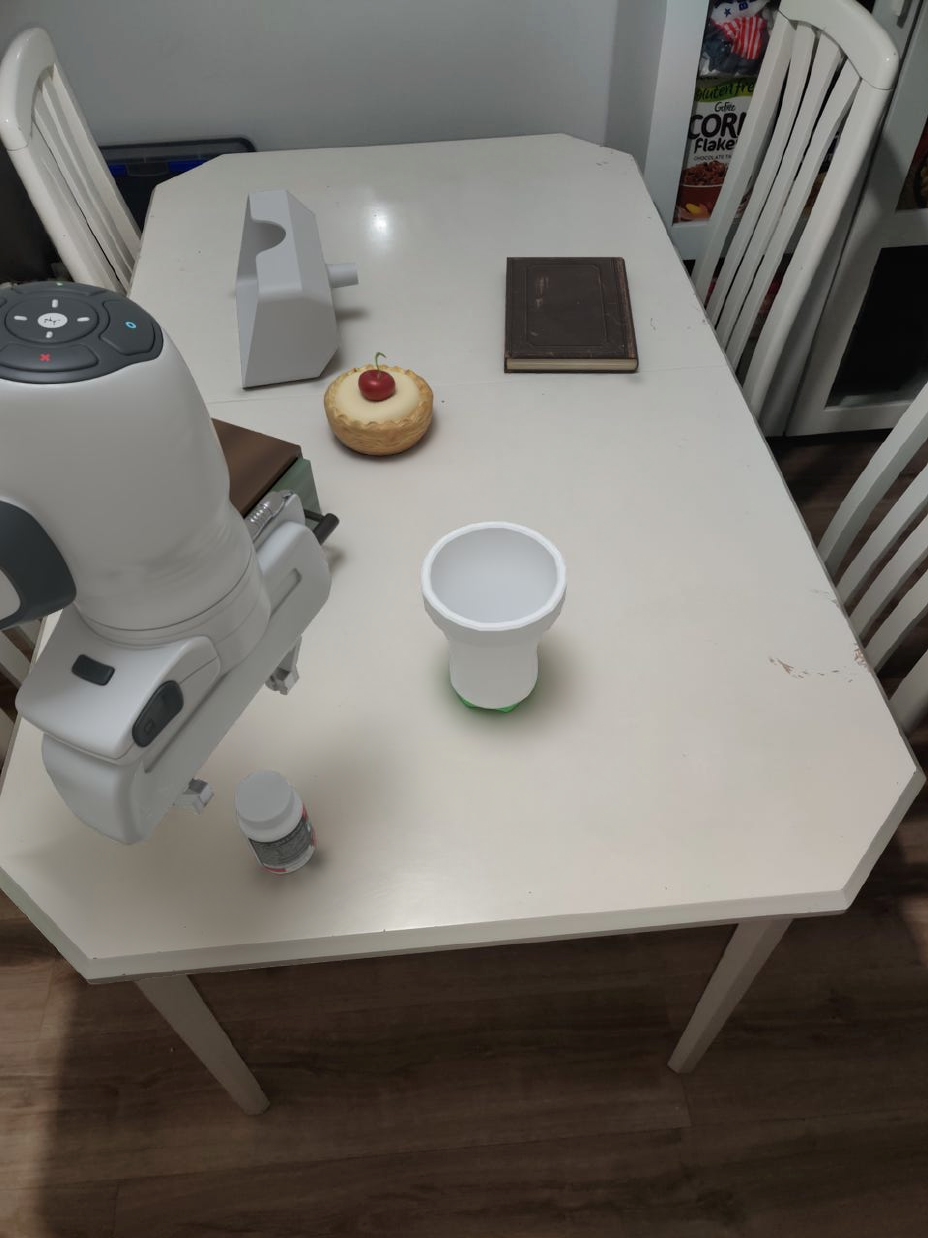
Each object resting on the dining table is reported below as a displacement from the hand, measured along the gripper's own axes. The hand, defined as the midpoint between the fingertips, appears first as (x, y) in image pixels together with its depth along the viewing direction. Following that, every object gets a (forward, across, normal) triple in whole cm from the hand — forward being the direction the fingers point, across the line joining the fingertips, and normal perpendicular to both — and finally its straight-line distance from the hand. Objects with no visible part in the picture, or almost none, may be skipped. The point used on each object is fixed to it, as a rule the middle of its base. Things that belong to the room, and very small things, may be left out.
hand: (242, 740), depth 55 cm
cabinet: (+16, -25, -25) cm, 39 cm away
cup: (+16, -21, +8) cm, 27 cm away
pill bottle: (+16, 0, 0) cm, 16 cm away
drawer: (+15, -25, -21) cm, 36 cm away
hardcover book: (+16, -76, -8) cm, 78 cm away
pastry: (+16, -47, -18) cm, 53 cm away
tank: (+16, -61, -38) cm, 74 cm away
